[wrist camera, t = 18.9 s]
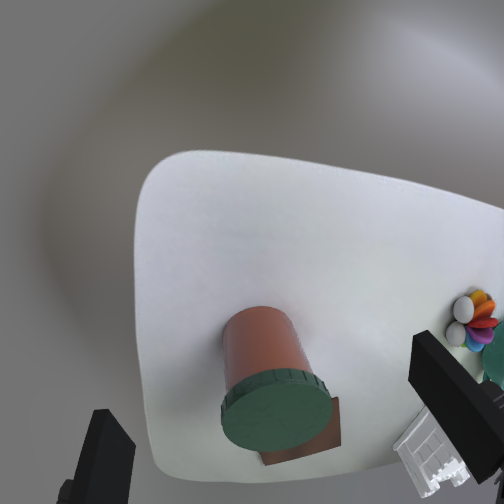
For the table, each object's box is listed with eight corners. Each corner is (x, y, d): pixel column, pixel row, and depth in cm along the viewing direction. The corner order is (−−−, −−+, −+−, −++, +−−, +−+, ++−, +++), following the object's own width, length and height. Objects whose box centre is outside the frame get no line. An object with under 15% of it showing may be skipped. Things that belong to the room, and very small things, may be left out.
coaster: (264, 463, 48) (265, 466, 47) (246, 420, 43) (247, 423, 42) (340, 443, 48) (341, 445, 48) (337, 396, 43) (338, 399, 43)
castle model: (430, 398, 48) (468, 453, 34) (469, 396, 51) (504, 441, 37) (391, 446, 52) (419, 499, 38) (433, 440, 55) (461, 485, 41)
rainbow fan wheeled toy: (488, 283, 40) (517, 303, 34) (472, 334, 44) (497, 356, 37) (454, 288, 39) (484, 312, 33) (438, 343, 43) (462, 369, 36)
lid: (207, 382, 25) (207, 398, 23) (324, 354, 25) (331, 368, 24) (235, 445, 29) (236, 459, 27) (329, 423, 29) (334, 436, 27)
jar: (232, 371, 39) (241, 449, 27) (213, 316, 36) (215, 394, 24) (299, 354, 39) (327, 428, 28) (288, 297, 36) (320, 368, 24)
